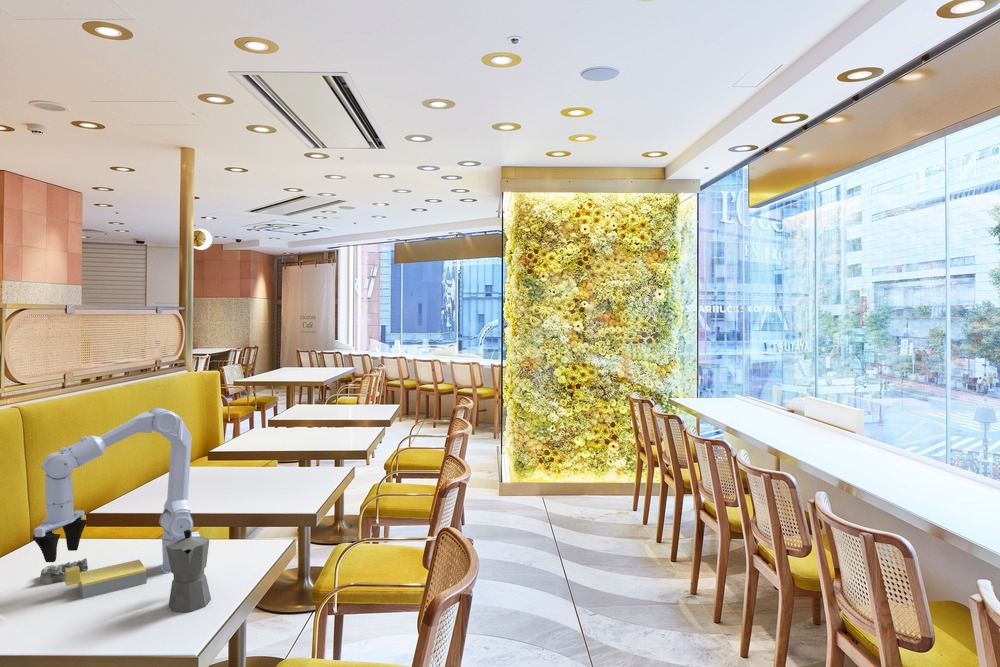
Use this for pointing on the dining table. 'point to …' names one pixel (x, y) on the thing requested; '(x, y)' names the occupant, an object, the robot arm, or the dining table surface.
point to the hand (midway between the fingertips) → (62, 555)
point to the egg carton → (60, 571)
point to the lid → (102, 573)
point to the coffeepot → (188, 573)
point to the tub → (112, 585)
